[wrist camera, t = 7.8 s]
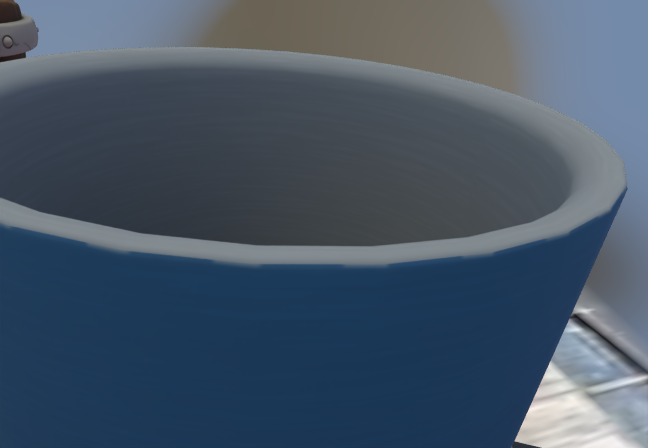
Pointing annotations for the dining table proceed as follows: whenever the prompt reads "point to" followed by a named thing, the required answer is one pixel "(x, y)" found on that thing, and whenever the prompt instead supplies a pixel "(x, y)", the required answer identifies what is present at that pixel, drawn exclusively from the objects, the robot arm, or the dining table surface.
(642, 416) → the dining table surface
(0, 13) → the flowerpot
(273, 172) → the cup
